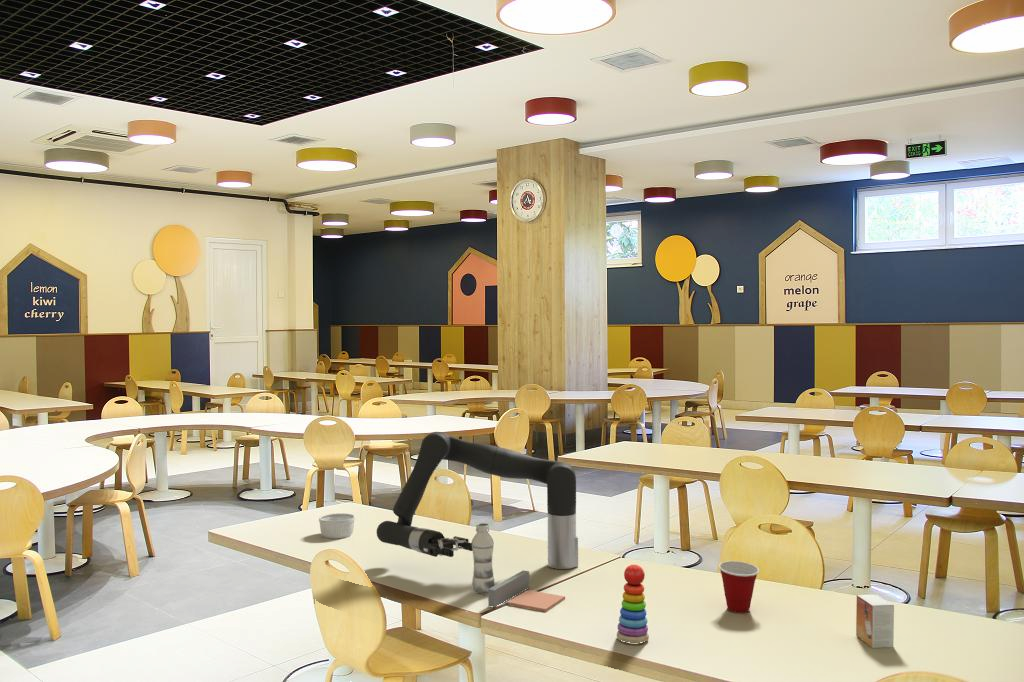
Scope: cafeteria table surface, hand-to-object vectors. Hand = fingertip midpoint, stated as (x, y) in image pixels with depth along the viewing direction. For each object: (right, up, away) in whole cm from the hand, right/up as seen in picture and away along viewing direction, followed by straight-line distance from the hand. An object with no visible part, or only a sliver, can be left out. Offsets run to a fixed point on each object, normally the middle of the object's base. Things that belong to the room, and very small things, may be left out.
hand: (463, 550), depth 252 cm
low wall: (+14, -11, -10) cm, 20 cm away
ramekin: (-51, -10, +63) cm, 81 cm away
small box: (+104, -11, -45) cm, 114 cm away
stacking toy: (+45, -12, -42) cm, 63 cm away
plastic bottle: (+6, -11, -5) cm, 14 cm away
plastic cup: (+77, -11, -22) cm, 81 cm away
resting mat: (+22, -11, -14) cm, 28 cm away
